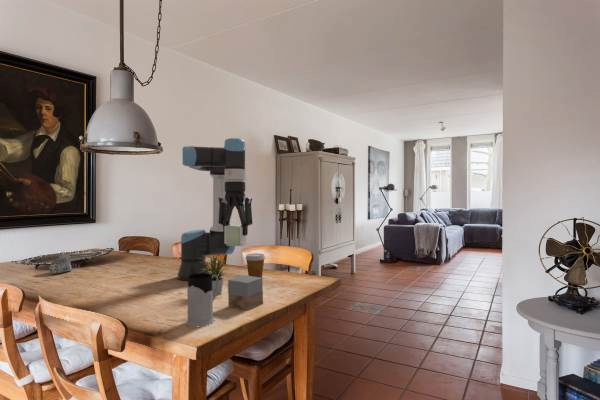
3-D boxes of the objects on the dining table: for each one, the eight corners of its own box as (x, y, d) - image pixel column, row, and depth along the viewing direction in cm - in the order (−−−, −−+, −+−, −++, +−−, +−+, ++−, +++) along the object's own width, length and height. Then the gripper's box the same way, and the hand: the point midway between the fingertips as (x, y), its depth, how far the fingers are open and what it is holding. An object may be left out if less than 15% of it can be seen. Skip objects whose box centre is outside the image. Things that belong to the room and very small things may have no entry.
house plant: (193, 291, 153) (193, 252, 153) (226, 287, 159) (225, 250, 159) (198, 299, 140) (197, 258, 140) (233, 295, 146) (233, 255, 145)
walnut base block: (228, 307, 132) (228, 293, 132) (244, 300, 140) (244, 288, 140) (247, 311, 127) (247, 297, 127) (262, 304, 135) (262, 291, 135)
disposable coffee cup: (266, 277, 179) (266, 253, 179) (263, 281, 169) (262, 256, 169) (248, 276, 180) (248, 253, 180) (243, 281, 170) (243, 256, 170)
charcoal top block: (228, 293, 132) (228, 280, 132) (243, 288, 140) (243, 275, 140) (247, 296, 127) (247, 282, 127) (262, 291, 135) (262, 277, 135)
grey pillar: (180, 325, 113) (179, 277, 113) (207, 311, 126) (207, 269, 126) (203, 328, 110) (203, 280, 110) (228, 314, 123) (228, 270, 123)
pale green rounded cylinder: (233, 243, 136) (233, 225, 136) (247, 244, 133) (247, 225, 133) (222, 245, 131) (222, 226, 130) (236, 246, 128) (236, 227, 128)
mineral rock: (51, 276, 182) (50, 256, 181) (41, 274, 187) (40, 254, 187) (77, 272, 192) (77, 253, 192) (67, 269, 198) (67, 251, 198)
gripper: (207, 181, 133) (208, 243, 133) (250, 180, 124) (250, 246, 124) (221, 182, 139) (221, 241, 140) (262, 180, 130) (262, 244, 131)
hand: (235, 243), depth 132 cm, fingers closed on pale green rounded cylinder, 6 cm apart
